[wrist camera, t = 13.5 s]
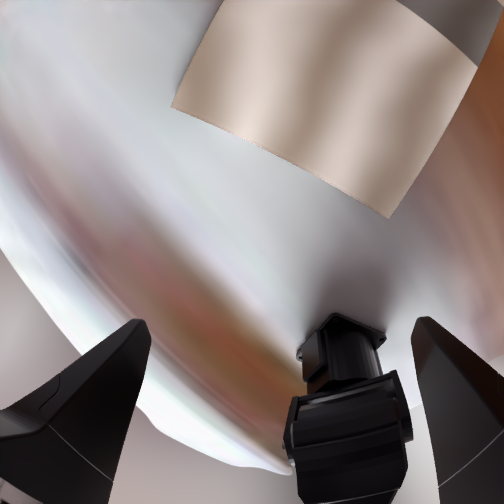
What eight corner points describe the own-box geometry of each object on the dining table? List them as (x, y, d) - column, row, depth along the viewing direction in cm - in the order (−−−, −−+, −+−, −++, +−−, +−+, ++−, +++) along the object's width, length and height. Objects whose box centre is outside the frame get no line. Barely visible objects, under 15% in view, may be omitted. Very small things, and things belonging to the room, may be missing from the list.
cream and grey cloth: (499, -3, 10) (508, -5, 9) (383, 212, 20) (388, 219, 19) (317, -116, 8) (319, -124, 7) (176, 106, 18) (170, 107, 17)
